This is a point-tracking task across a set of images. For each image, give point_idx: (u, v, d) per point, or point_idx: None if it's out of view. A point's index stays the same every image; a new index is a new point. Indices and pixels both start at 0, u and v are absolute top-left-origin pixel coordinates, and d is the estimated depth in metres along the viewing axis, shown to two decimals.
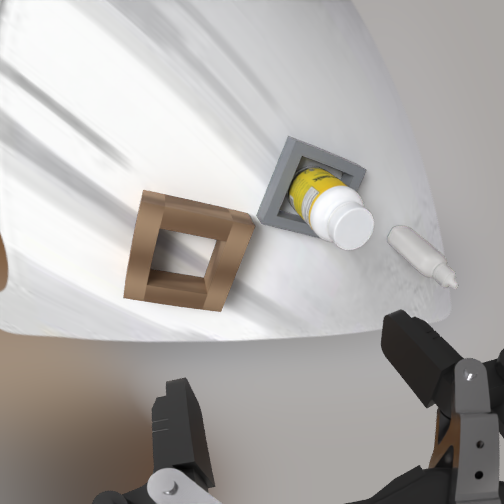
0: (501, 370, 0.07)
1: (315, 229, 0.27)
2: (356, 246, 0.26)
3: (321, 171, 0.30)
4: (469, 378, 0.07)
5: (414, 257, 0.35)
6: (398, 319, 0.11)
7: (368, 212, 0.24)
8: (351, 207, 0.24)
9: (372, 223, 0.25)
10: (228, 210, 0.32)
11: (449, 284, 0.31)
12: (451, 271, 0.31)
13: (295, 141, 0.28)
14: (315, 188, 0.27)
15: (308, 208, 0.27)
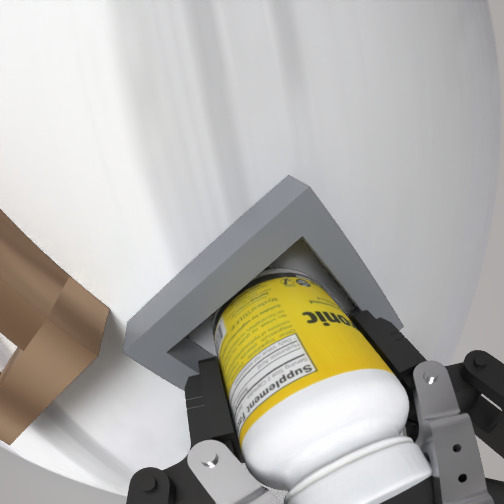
0: (468, 377, 0.07)
1: (249, 464, 0.07)
2: None
3: (326, 297, 0.11)
4: (428, 381, 0.08)
5: None
6: (361, 319, 0.11)
7: None
8: (409, 469, 0.05)
9: None
10: (65, 280, 0.11)
11: None
12: None
13: (306, 189, 0.10)
14: (304, 347, 0.08)
15: (257, 399, 0.08)
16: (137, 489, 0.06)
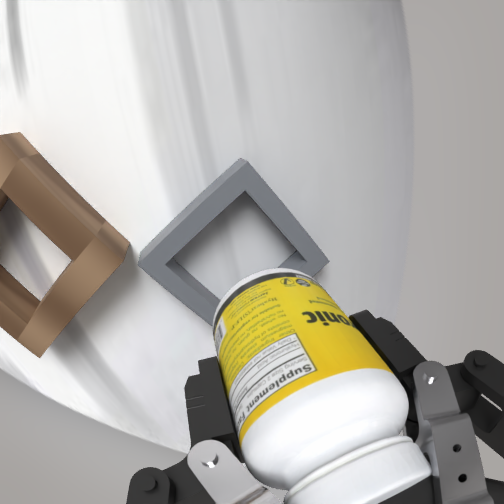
0: (468, 377, 0.07)
1: (249, 463, 0.07)
2: None
3: (326, 297, 0.11)
4: (428, 381, 0.08)
5: None
6: (361, 319, 0.11)
7: None
8: (409, 468, 0.05)
9: None
10: (103, 221, 0.18)
11: None
12: None
13: (246, 163, 0.18)
14: (304, 347, 0.08)
15: (257, 399, 0.08)
16: (137, 489, 0.06)
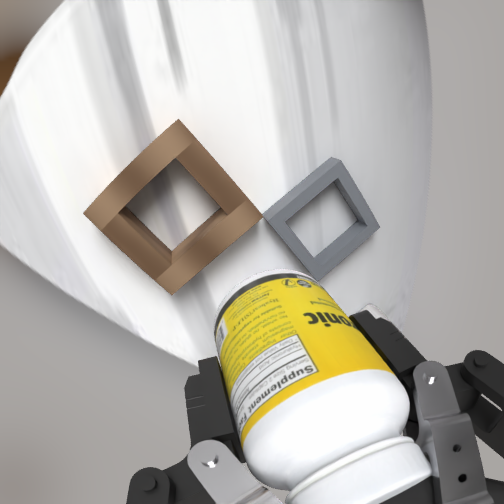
0: (469, 377, 0.07)
1: (251, 464, 0.07)
2: None
3: (327, 298, 0.12)
4: (428, 381, 0.08)
5: None
6: (361, 319, 0.11)
7: None
8: (410, 469, 0.05)
9: None
10: None
11: None
12: None
13: (339, 161, 0.28)
14: (305, 348, 0.08)
15: (259, 400, 0.08)
16: (137, 489, 0.06)
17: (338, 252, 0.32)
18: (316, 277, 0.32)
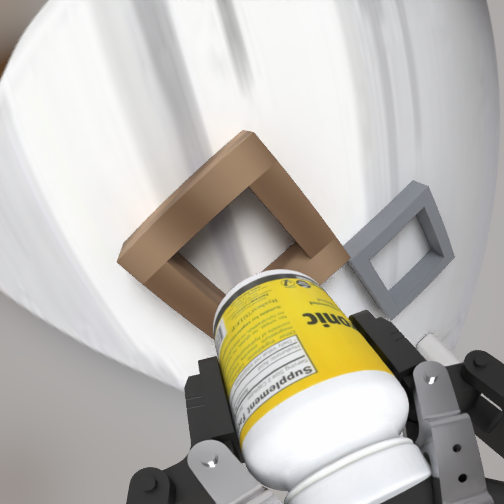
0: (468, 377, 0.07)
1: (250, 464, 0.07)
2: None
3: (326, 298, 0.11)
4: (428, 381, 0.08)
5: None
6: (361, 319, 0.11)
7: None
8: (409, 470, 0.05)
9: None
10: None
11: None
12: None
13: (427, 187, 0.22)
14: (304, 348, 0.08)
15: (257, 400, 0.08)
16: (137, 489, 0.06)
17: (415, 288, 0.26)
18: (391, 316, 0.27)
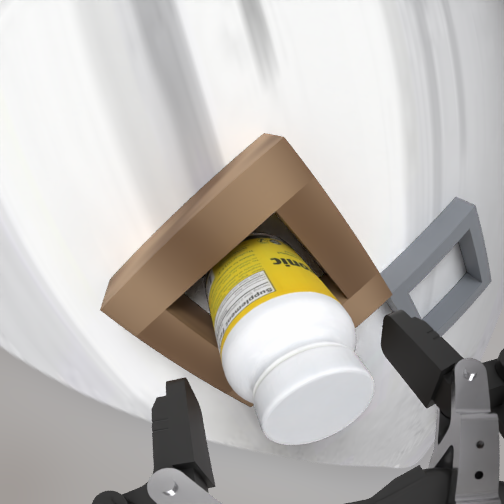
0: (501, 370, 0.07)
1: (226, 368, 0.11)
2: (303, 441, 0.10)
3: (293, 252, 0.15)
4: (469, 378, 0.07)
5: None
6: (398, 319, 0.11)
7: (371, 384, 0.09)
8: (344, 362, 0.09)
9: (362, 408, 0.09)
10: None
11: None
12: None
13: (473, 206, 0.17)
14: (268, 278, 0.12)
15: (233, 315, 0.11)
16: None
17: (450, 318, 0.21)
18: None
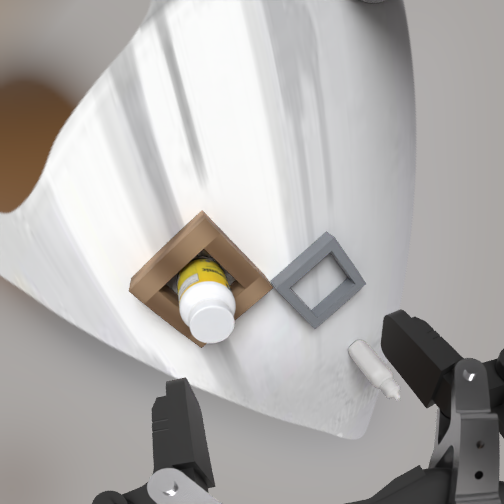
0: (501, 370, 0.07)
1: (180, 310, 0.28)
2: (208, 341, 0.27)
3: (215, 266, 0.33)
4: (469, 378, 0.07)
5: (370, 367, 0.41)
6: (398, 319, 0.11)
7: (231, 316, 0.27)
8: (217, 304, 0.26)
9: (231, 328, 0.27)
10: (254, 265, 0.36)
11: (393, 395, 0.37)
12: (398, 386, 0.38)
13: (333, 237, 0.36)
14: (198, 276, 0.30)
15: (183, 290, 0.29)
16: None
17: (331, 306, 0.39)
18: (314, 326, 0.40)
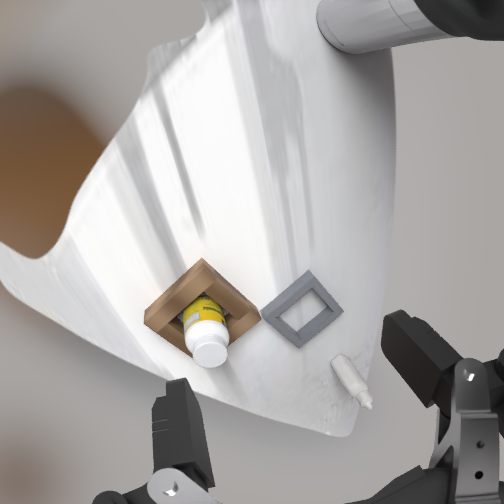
0: (501, 370, 0.07)
1: (185, 342, 0.35)
2: (208, 366, 0.34)
3: (213, 303, 0.40)
4: (469, 378, 0.07)
5: (348, 380, 0.48)
6: (398, 319, 0.11)
7: (224, 348, 0.34)
8: (213, 340, 0.33)
9: (225, 357, 0.34)
10: (246, 299, 0.43)
11: (366, 405, 0.44)
12: (371, 397, 0.45)
13: (313, 276, 0.42)
14: (199, 314, 0.37)
15: (188, 326, 0.36)
16: None
17: (313, 330, 0.46)
18: (298, 346, 0.47)
